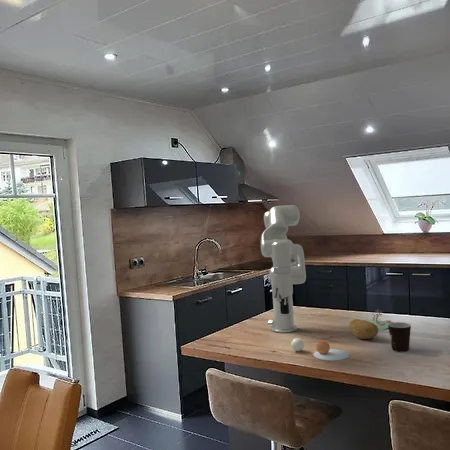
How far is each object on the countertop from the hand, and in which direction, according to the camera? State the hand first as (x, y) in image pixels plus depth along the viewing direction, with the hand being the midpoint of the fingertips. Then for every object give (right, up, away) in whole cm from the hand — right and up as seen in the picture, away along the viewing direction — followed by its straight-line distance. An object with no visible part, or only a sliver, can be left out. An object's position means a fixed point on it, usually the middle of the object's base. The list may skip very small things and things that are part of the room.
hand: (284, 313), depth 202 cm
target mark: (+17, -14, -11) cm, 25 cm away
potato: (+36, -13, +8) cm, 39 cm away
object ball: (+14, -12, -9) cm, 21 cm away
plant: (+47, -12, +33) cm, 58 cm away
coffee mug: (+46, -13, -9) cm, 49 cm away
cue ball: (+5, -12, -4) cm, 14 cm away
